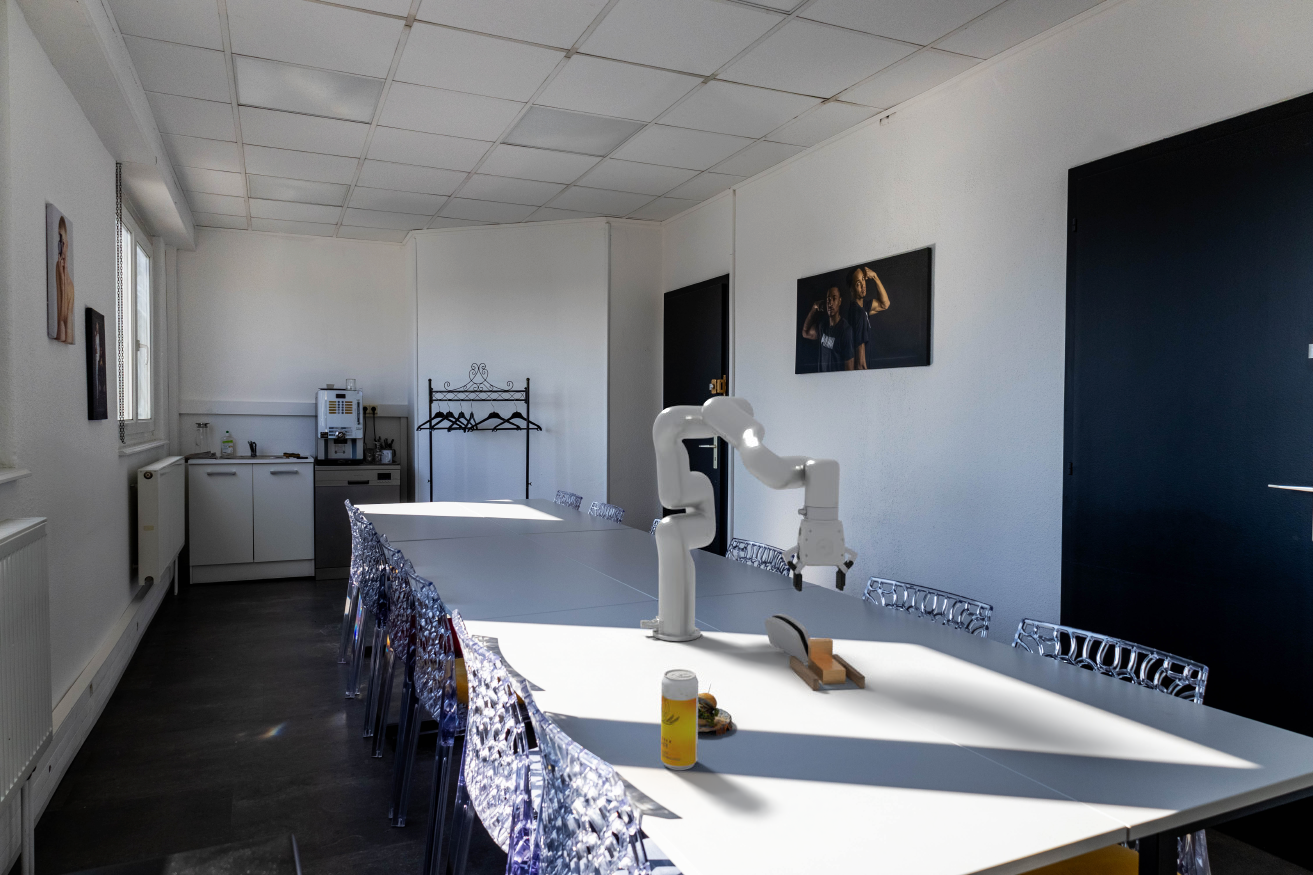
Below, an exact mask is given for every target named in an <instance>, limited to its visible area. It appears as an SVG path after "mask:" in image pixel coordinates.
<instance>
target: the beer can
mask: <svg viewBox="0 0 1313 875" xmlns="http://www.w3.org/2000/svg"><path fill="white" fill-rule="evenodd" d="M698 694H699V680H698V678H697V674H696V672H695V671H692V670H689V669H684V668H683V669H682V668H677V669H676V668H674V669H670V670H667V671H665V672H664V674H663V677H662V678H661V702H660V703H661V704H660V705H661V706H660V707H661V708H660V710H661V711H660V713H661V714H660V715H661V717H660V721H661V722H660V726H661V727H660V733H661V734H660V759H661V761H662V763H663V765H664V766H665V767H666V768H668V769H671V770H675V771H683V770H688V769H689V770H690V769H691V768H693V767H694V766H695V763H697V761H698V759H699V758H698V753H699V752H698V750H699V748H698V746H699V744H698V743H699V739H698V738H699V735H698V734H699V731H698Z"/></svg>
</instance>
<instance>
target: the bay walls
mask: <svg viewBox="0 0 1313 875" xmlns="http://www.w3.org/2000/svg"><path fill="white" fill-rule="evenodd" d="M833 659H834V660H835V661H836V662H837V663H839V664H840V665H841V666H842V667H843V668H844V669H845V670H846V675H845V676H846V677H848V678H849V679H850V680H851V681H852V682H853V683H855V684H856V685H857V686H858V687H859V690H860V689H865V688H866V686H865V684H866V676H865V675H864V674H862V673H861V672H860V671H859V670H857V669H856V668H855V667H854V666H853V665H851V664H850V663H849V662H848V661H846V660H845V659H844V658H842V656H840V655H839V654H836V653H833ZM805 665H806V664H804V663H803V661H802V660H800V659H798V658H797V657H795V656H792V655H789V668H790V669H791V670H792V671H793V673H795V674H796V675H797V676H798V677H799V678H800V679H801V680H802V681H803V682H804V683H805V684H806V685H807V686H808V687H809V688H810V689H811V690H812V691H815V692H816V691H820V690H819V678H818V677H817V676H816V675H815V674H814V673H812V672H811V671H810V670H809V669H808V668H807V667H806V666H805Z"/></svg>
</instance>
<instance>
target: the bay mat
mask: <svg viewBox="0 0 1313 875" xmlns="http://www.w3.org/2000/svg"><path fill="white" fill-rule="evenodd" d="M804 665H805V666H806V667H807V668H808V664H804ZM855 689H857V690H858V689H859V687H858V686H857V685H856V684H855V683H853V682H852V681H851V680H850V679H849V678H848V677H846V676H845V683H842V684H822V683H821V682H820V681H819V690H818V691H832V690H855ZM859 690H860V689H859Z"/></svg>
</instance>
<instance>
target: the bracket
mask: <svg viewBox="0 0 1313 875" xmlns="http://www.w3.org/2000/svg"><path fill="white" fill-rule="evenodd" d="M833 648H834V640H833V639H831V637H825V638H824V637H823V638H822V637H821V638H820V637H817V638H816V637H815V638H810V639H808V661H807V665H808V669H809V670H810V671H811V672H812V673H814V674H815V675H816V676H817V677H818V678H819V681H820V682H821V683H822V684H842V683H845V675H846V670H845V669H844V668H843V667H842V666H841V665H840V664H839V663H837V662H836V661H835V660H834V659H833V654H834V653H833V650H834V649H833Z"/></svg>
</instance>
